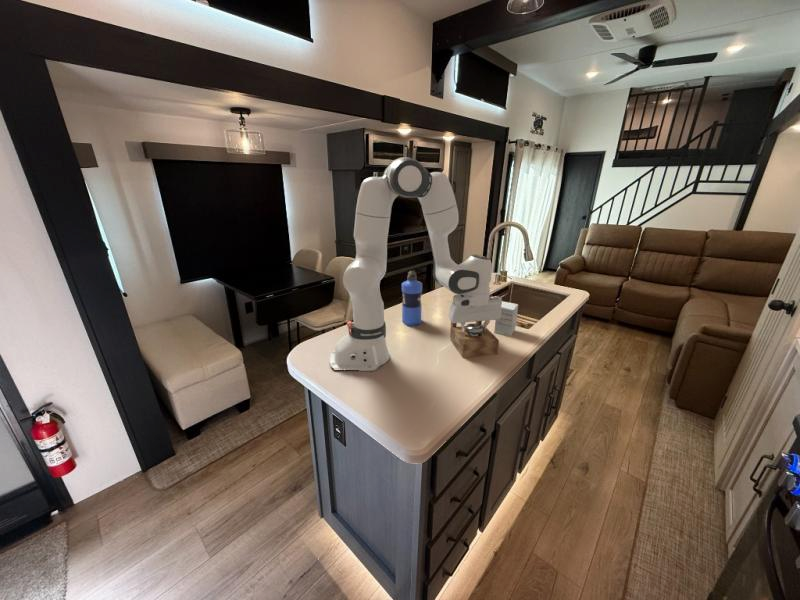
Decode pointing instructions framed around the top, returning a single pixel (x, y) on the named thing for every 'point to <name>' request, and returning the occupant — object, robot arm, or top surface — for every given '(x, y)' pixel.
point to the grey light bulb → (474, 329)
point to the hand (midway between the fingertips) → (474, 330)
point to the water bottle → (411, 300)
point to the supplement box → (507, 319)
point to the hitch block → (473, 342)
